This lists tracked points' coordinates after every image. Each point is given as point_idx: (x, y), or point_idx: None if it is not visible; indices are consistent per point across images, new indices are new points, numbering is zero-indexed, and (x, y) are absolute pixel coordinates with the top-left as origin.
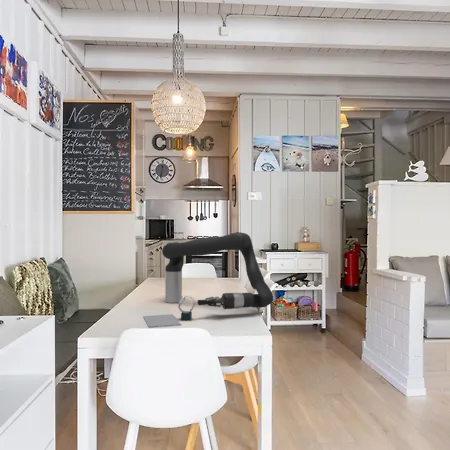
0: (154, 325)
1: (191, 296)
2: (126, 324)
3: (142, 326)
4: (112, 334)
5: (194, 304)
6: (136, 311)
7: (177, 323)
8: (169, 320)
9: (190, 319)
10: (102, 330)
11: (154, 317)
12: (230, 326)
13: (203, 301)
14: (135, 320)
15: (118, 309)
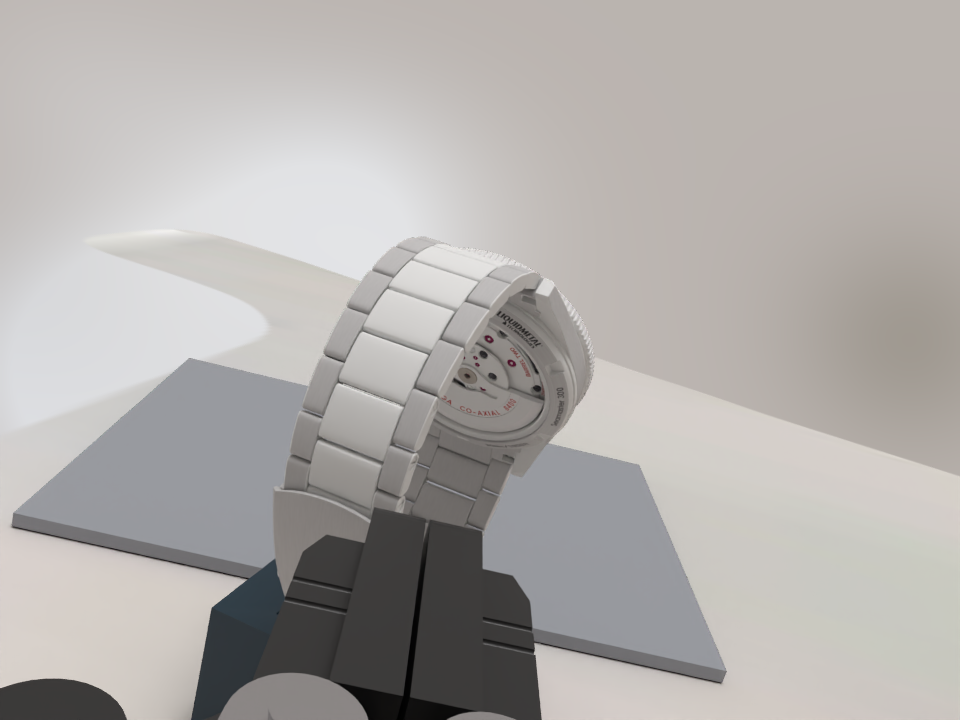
0: (197, 384)
1: (475, 316)
2: None
3: (264, 366)
4: (167, 264)
5: (282, 490)
6: (885, 517)
7: (101, 506)
8: None
9: (196, 714)
10: (300, 281)
11: (555, 490)
12: None
13: (282, 618)
14: None
15: (935, 476)
